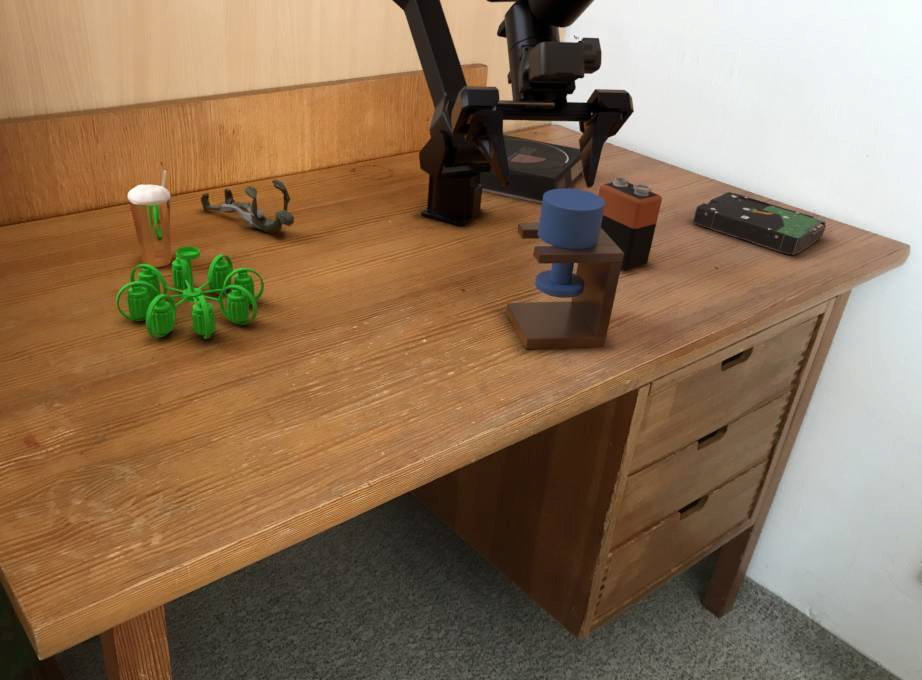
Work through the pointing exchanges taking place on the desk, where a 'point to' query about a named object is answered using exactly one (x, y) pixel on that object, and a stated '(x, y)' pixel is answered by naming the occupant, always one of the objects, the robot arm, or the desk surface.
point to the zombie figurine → (254, 209)
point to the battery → (630, 219)
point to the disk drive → (760, 222)
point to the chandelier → (190, 294)
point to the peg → (568, 235)
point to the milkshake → (152, 222)
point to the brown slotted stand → (585, 312)
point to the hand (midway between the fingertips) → (549, 186)
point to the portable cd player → (535, 169)
